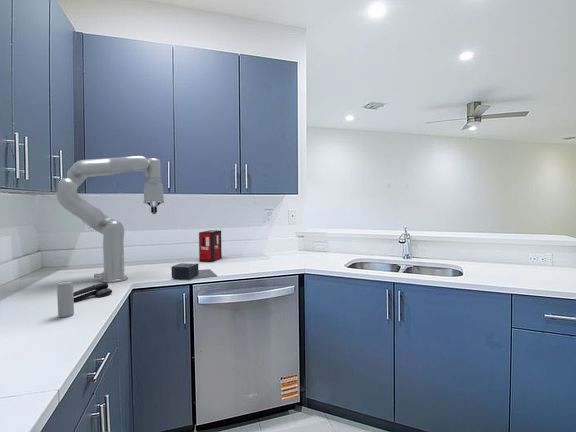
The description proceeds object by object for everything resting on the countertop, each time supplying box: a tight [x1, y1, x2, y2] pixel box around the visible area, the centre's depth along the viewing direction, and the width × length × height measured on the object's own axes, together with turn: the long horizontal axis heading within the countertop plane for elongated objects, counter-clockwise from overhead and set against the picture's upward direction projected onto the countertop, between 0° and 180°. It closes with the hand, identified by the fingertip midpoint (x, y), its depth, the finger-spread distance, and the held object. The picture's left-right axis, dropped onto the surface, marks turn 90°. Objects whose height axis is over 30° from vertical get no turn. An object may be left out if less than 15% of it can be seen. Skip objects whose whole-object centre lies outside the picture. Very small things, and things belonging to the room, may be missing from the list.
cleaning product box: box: [198, 229, 223, 264], centre depth 234 cm, size 16×9×20 cm, turn 168°
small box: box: [171, 262, 200, 280], centre depth 182 cm, size 11×6×10 cm
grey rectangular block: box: [56, 280, 75, 318], centre depth 121 cm, size 5×5×12 cm
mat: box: [181, 268, 218, 281], centre depth 189 cm, size 18×20×1 cm
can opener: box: [73, 282, 113, 303], centre depth 144 cm, size 18×7×6 cm, turn 148°
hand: (154, 214), depth 188 cm, fingers closed
